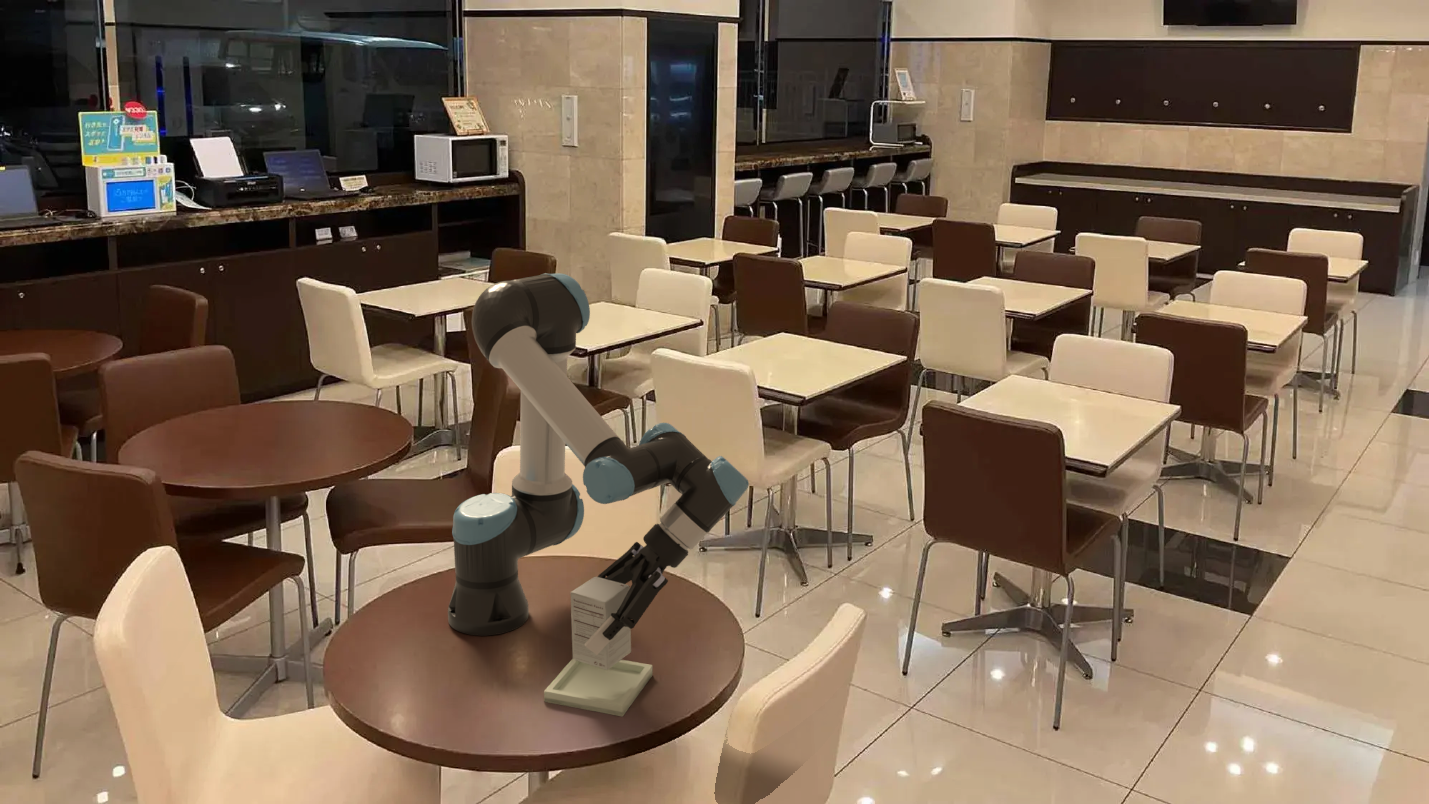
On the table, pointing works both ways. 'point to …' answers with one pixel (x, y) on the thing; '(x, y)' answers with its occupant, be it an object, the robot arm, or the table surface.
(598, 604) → the supplement box
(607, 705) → the tray
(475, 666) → the table surface
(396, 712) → the table surface
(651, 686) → the table surface
